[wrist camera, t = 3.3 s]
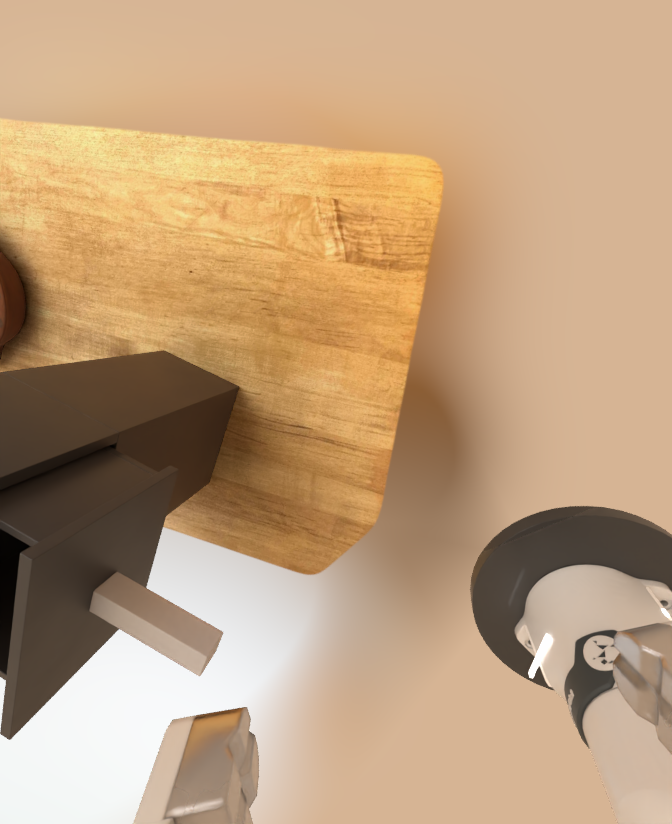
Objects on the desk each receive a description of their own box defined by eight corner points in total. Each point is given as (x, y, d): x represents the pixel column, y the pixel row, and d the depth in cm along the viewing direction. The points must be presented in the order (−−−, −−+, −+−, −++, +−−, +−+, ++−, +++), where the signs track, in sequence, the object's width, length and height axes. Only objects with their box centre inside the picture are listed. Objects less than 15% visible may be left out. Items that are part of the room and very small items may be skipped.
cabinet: (239, 386, 48) (-101, 515, 17) (209, 483, 53) (-94, 715, 22) (163, 350, 49) (-279, 409, 18) (141, 447, 55) (-233, 620, 24)
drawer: (280, 521, 27) (187, 651, 17) (225, 654, 32) (127, 818, 22) (59, 406, 30) (-145, 456, 19) (40, 547, 35) (-129, 648, 24)
